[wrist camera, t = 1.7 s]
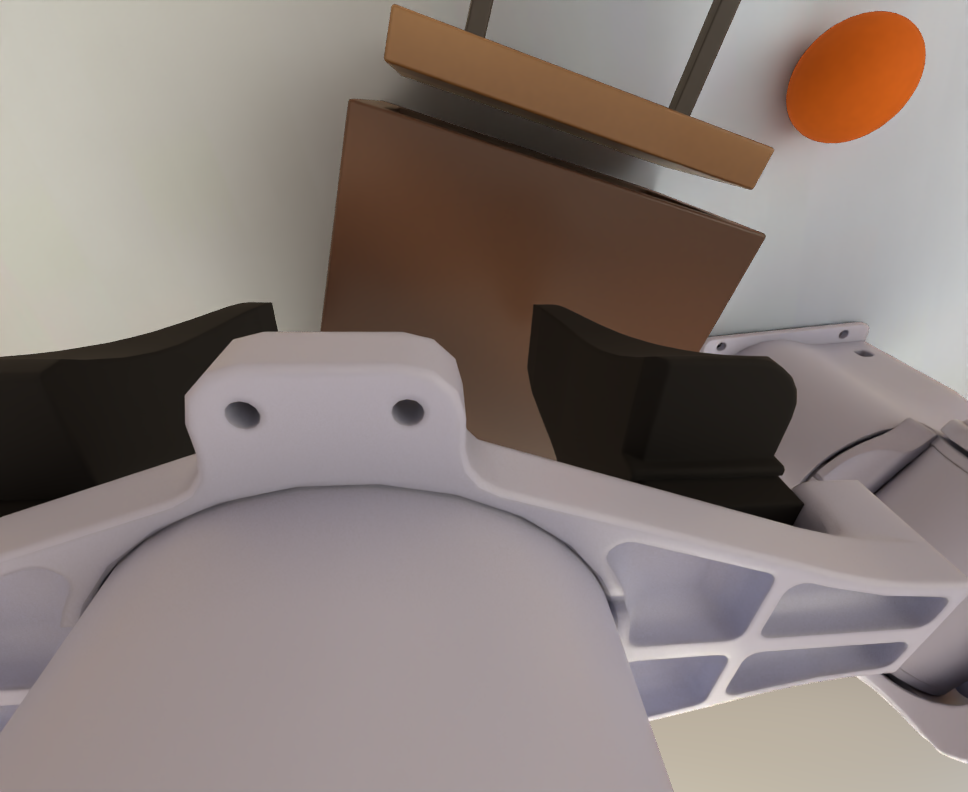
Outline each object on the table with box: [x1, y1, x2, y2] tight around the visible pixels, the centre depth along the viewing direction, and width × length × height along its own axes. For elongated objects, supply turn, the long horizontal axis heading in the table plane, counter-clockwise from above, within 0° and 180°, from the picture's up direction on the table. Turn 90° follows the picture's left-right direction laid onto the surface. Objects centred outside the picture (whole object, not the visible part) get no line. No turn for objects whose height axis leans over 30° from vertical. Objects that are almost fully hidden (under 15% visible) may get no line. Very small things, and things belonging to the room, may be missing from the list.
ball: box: [786, 11, 926, 143], centre depth 18 cm, size 4×4×4 cm
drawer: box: [384, 0, 774, 190], centre depth 17 cm, size 18×11×7 cm, turn 164°
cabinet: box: [320, 99, 766, 461], centre depth 20 cm, size 15×13×9 cm
